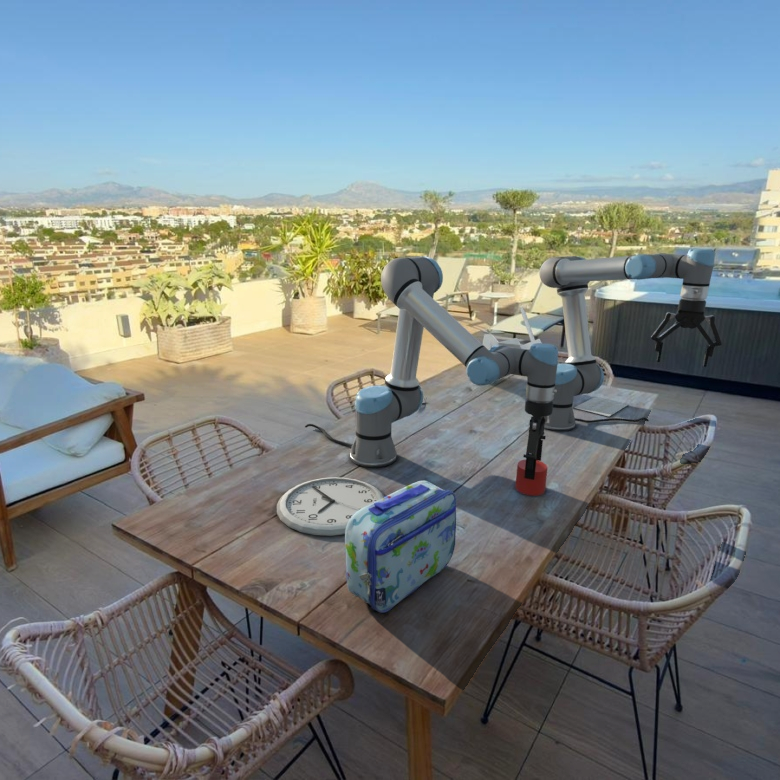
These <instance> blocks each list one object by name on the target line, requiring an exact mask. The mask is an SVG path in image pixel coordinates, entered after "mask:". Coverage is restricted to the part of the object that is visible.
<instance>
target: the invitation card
mask: <svg viewBox="0 0 780 780" xmlns="http://www.w3.org/2000/svg"><path fill="white" fill-rule="evenodd" d="M628 406H629V404H627V403H623V402H618V401H614V400H609V399H605V398H601V397H596V396H593V397H592V398H590V399H588V400H586V401H584V402H582V403H580V404H578V405H575V406H574V407H573V409H575V410H581V411H584V412H587V413H593V414H596V415H600V416H604V417H608V418H610V417H611V416H613V415H614V414H616V413H617V412H619V411H621V410H623V409H624V408H626V407H628Z"/></svg>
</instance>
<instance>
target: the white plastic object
mask: <svg viewBox="0 0 780 780" xmlns="http://www.w3.org/2000/svg"><path fill="white" fill-rule="evenodd" d="M519 310H520V314H521V316H522V319H523V323H524V326H525V328H526V331H527V334H528V337H529V340H530V341H529V342H527V343H525V344H524V343H521V342H520V341H519V338H518V337H515V338H510V339H506V340H502V341H499V340H498V339H497V338H496V336H494V334H492V333H488V334H487V333H484V334H483V339H482V342H481V344H482V345H484V346H485V347H486V348H487V349H488V350H490V348H491V347H492V346H495V345H498V346H503V345H504V346H508V347H514V348H520V349H526V350H530V347H531V345H532V344H536V343H543V341H541V338H536V339H535V336H534V333H533V330H532V328H531V325H530V321H529V317H528V315H527V312H526V310H525V309H524V307H520V308H519Z"/></svg>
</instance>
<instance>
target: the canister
mask: <svg viewBox="0 0 780 780" xmlns="http://www.w3.org/2000/svg"><path fill="white" fill-rule="evenodd" d="M516 465H517V466H516V474H515V475H516V476H515V490H516V491H517V492H519V493H520V494H523V495H527V496H532V497H533V496H535V497H537V496H541V495H543V494H545V492H546V484H547V477H548V468H549V467H548V465H547V464H546V463H544V461H543V462H542V461H537V460H536V469H535V479H534V480H532V479H526V478H524V476H525V465H526V459H521V460H519V461H518V462H517V463H516Z"/></svg>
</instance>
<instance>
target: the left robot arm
mask: <svg viewBox="0 0 780 780" xmlns="http://www.w3.org/2000/svg"><path fill="white" fill-rule="evenodd" d="M443 281H444V275H443V270H442V268H441V266H440V265H439V263H438V261H436V260H435V259H434V258H432V257H428V256H423V255H422V256H421V255H417V256H409V257H408V256H407V257H397V258H393V259H391V260H390V261H388V263H386V264H385V266H384V267H383V268H382V271H381V274H380V284H381V288H382V290H383V292H384V293H385V295H386V296H387V298H388V299H389V300H390V302H391V303H393V304H394V305H395V306H396V307H397V308H398V315H397V322H396V323H397V324H396V330H395V338H394V345H393V351H392V352H393V354H392V361H391V366H390V367H391V368H390V373H389V374H387V375H386V376H385V378H384V385H380V384H379V385H377V384H376V385H369V386H365V387H363V388H361V389H360V390H359V391H358V392H357V393H356V395H355V403H354V412H355V413H354V414H355V415H354V416H355V418H354V419H355V421H354V422H355V437H354V439H353V442H352V443H348V442H345V441H341V440H338V439H335V438H333V437H331V436H329V434H328V433H327V432H326V430H325V429H324V428H322V427H320V426H319V425H316V424H314V423H307V424H306V425H304V428H309V427H312V428H315V429H317V430H319V431H321V432H322V433H323V436H324V437H325V438H326V439H328V440H330V441H332V442H335V443H337V444H340V445H344V446H347V447H351V448H350V452H349V459H350V461H351V462H352V463H353V464H355V465H357V466H359V467H364V468H374V469H375V468H382V467H387V466H390V465H392V464H394V463H395V462H396V461H397V450H396V447H395V443H394V441H393V438H392V424H393V423H395V422H397V421H400V420H402V419H404V418H406V417H407V418H408V417H410V416H411V415H414V414H415V413H416V412H417V411H419V410H420V408H421V407H422V405H423V403H422V402H423V400H424V398H423V397H424V391H423V390H422V387H421V385H420V380H419V379H418V377H417V374H418V373H417V372H418V365H419V360H420V353H421V348H422V341H423V334H424V329H425V330H426V331H427V332H428V333H429V334H430V335H432V336H433V338H434V339H435V340H437V341H438V342H439V344H441V345H442V346H443V347H444V348H445V349H446V350H448V352H449V353H450V354H452V355H453V356H454V358H456V359H457V361H459V362H460V363H461V364H462V365H463V366H464V367H465V368H466V375H467V379H468V380H469V381H470V382H471V383H472V384H474V385H476V386H479V387H481V386H487V385H491V384H493V383H495V382H496V381H499V380H500V379H503V378H505V377H507V376H510V375H515V376H520V377H527V378H526V380H527V381H526V387H525V388H526V389H525V398H526V399H525V401H524V402H525V403H524V412H525V413H526V414H528V415H531V416H530V418H529V422H528V423H529V424H528V425H529V428H528V438H527V444H526V451H525V454H523V458H525V460H526V465H525V476H524V478H526V479H532V480H534V479H535V469H536V460H537V461H540V462H542V455H543V454H542V453H543V443H544V440H546V437H547V436H546V435H545V429H544V426H545V420H546V419H545V416H549V415H551V414H552V412H553V401H552V400H553V399H554V393H557V390H556V389H554V388H555V381H556V373H557V365H558V364H559V348H558V346H556V345H555V344H552V343H543V342H542V343H536V344H532V345H531V347H530V350H526V349H520V348H514V347H508V346H504V345H503V346H498V345H495V346H492V347H491V348H490V350H488V349H487V348H486V347H485V346H484V345H482V342H481V341H479V340H478V339H477V338H476V337H475V336H474V335H473V334H472V333H471V332H470V331H469V330H468V329H467V328H465V327H464V325H462V324H461V323H460V322H459V321H458V320H456V319H455V317H453V315H451V314H450V313H449V312H448V311H447V310H446V309H445V308H443V306H442V305H440V303H438V302H437V301H436V300H435V299H434V297H435V296H434V295H435V294H436V293H437V292H438V290H440V288H441V287H442V285H443Z"/></svg>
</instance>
